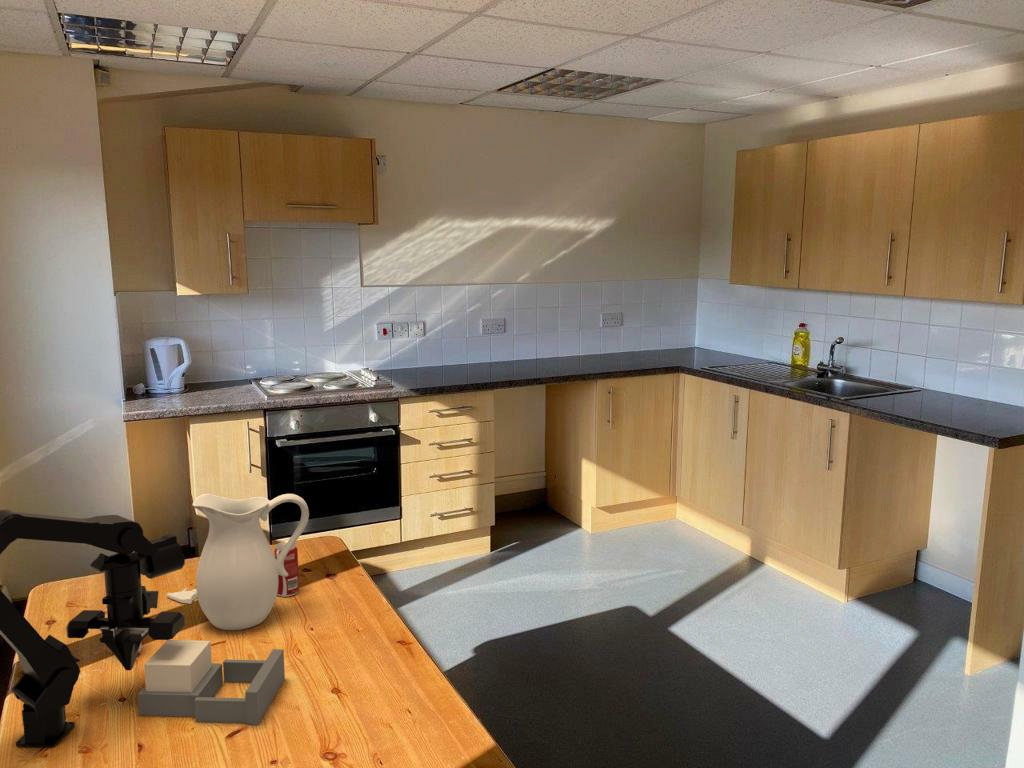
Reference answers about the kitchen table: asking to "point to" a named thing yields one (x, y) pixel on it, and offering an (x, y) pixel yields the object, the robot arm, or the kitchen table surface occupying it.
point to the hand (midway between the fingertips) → (129, 669)
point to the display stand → (228, 710)
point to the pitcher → (240, 560)
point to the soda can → (288, 571)
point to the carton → (178, 666)
